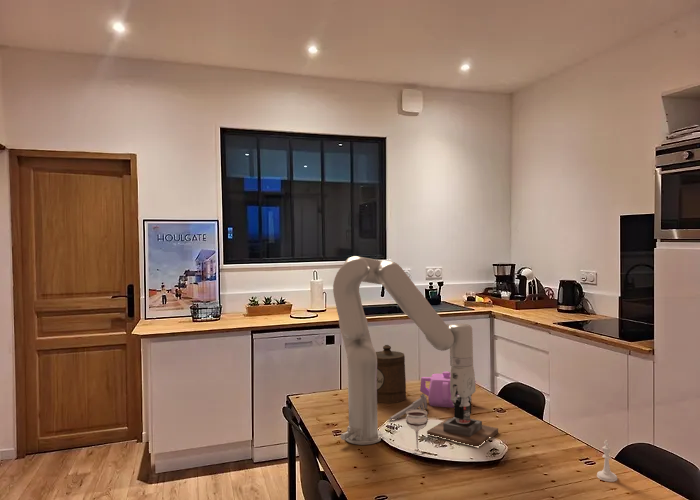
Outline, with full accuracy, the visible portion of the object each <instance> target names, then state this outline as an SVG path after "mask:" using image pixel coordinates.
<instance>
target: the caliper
mask: <svg viewBox="0 0 700 500" xmlns="http://www.w3.org/2000/svg"><path fill="white" fill-rule="evenodd" d="M411 409H421V410H427V409H428V399H427V395H426V394H424V393H421V394H420V396H419V398H417V399H416V400H415V401H413V402H412V403H411V404H410V405H408V406H407V407H405V408H403V409H402V410H400V411H398V412H396V413H394V415H391V416H389V418H388V420H392V419H396V420H397V418H398V419H400V418H402V417H403V416H404V415H407V414H406V411H408V410H411Z"/></svg>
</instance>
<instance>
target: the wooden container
mask: <svg viewBox="0 0 700 500" xmlns="http://www.w3.org/2000/svg"><path fill="white" fill-rule="evenodd" d="M382 349H383V350H382V351H379V350H378V351H375V352H376V355H377V403H381V404H382V403H383V404H392V403H393V404H394V403H395V404H396V403H399V402H402V401H405V400H406V398H407V390H406V389H407V382H406V364H405V362H406V359H405V357H406V356H405V353H404V352H400V351H396V350H395V351H394V350H391V349H392V347H391V345H389V344H384V346H382Z"/></svg>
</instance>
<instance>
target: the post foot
mask: <svg viewBox="0 0 700 500" xmlns="http://www.w3.org/2000/svg"><path fill="white" fill-rule="evenodd" d="M498 433H499V428H498V427H494V426H490V425H485V424H483V421H482V420H480V419H474V418H470V423H468V424H460V423H457V422H456V418H455V417H454V416H453V417H448V418H447V419H445V420H443V421H441V422H440V423H438V424H437V425H435V426H433V427H432V428H429V429H427V431H426V435H427V434H430V435H434V436H439V437H442V438H446V439H450V440H454V441H457V442H461V443H465V444H469V445H473V446H479V445H481V444H482V443H483V442H484V441H485V440H487V439H488V438H489V437H492V438H493V437H495V436H496V435H497V434H498Z"/></svg>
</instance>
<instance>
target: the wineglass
mask: <svg viewBox="0 0 700 500" xmlns="http://www.w3.org/2000/svg"><path fill="white" fill-rule="evenodd" d="M427 415H428V411H426V409H424V410H421V408H417V409H411V410H408V411H406V414H405V423H406V425H407V426H408V427H409V428H410V429H412V430H414V431H415V439H416V440H415V441H416V443H415V444H416V448H417V450H419V449H418V448H419V432H420V431H421V430H423V429H424V428H425V427H426V426H427V424H428V422H429V419H428V416H427Z"/></svg>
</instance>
